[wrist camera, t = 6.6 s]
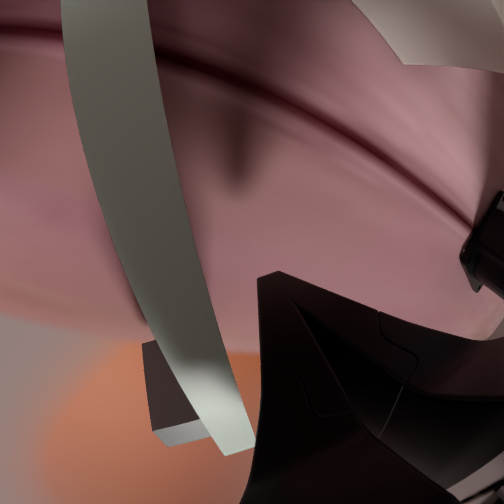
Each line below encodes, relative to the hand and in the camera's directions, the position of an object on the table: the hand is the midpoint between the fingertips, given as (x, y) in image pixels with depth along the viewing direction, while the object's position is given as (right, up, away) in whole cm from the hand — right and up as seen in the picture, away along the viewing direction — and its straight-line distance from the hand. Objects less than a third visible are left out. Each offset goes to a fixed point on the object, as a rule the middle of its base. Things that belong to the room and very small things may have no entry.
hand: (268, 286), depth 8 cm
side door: (-5, +6, -2) cm, 7 cm away
